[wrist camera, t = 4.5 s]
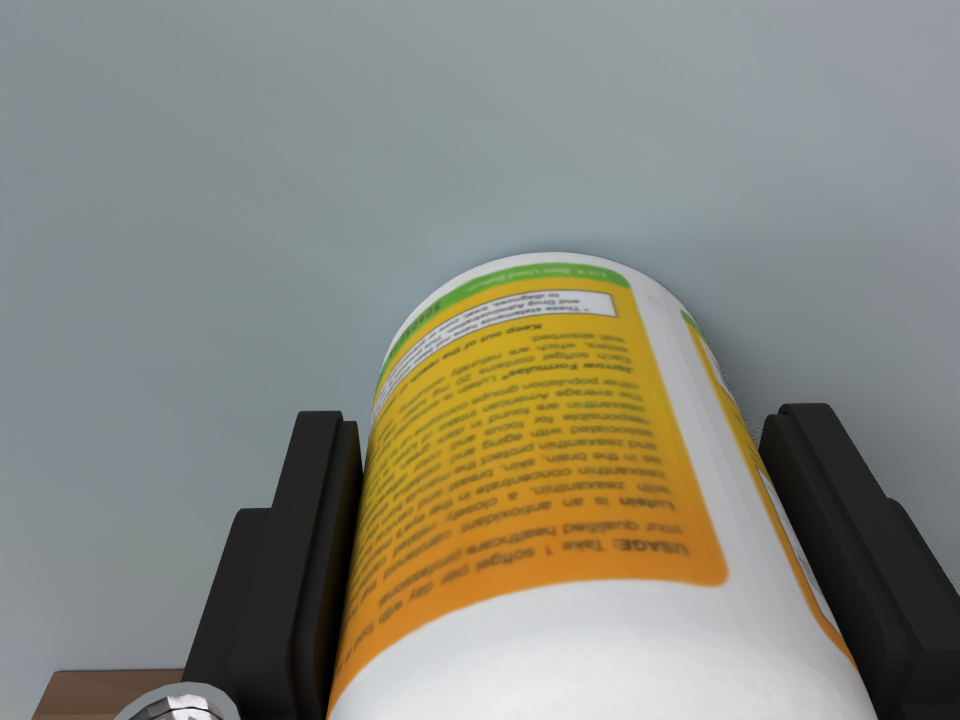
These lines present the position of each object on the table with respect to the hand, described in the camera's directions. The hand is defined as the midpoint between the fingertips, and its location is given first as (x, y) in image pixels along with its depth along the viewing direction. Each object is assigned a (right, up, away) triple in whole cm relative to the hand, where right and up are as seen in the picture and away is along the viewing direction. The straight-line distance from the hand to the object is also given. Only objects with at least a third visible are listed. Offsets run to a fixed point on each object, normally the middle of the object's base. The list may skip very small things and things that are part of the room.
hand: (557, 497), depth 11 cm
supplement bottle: (0, +2, +2) cm, 3 cm away
